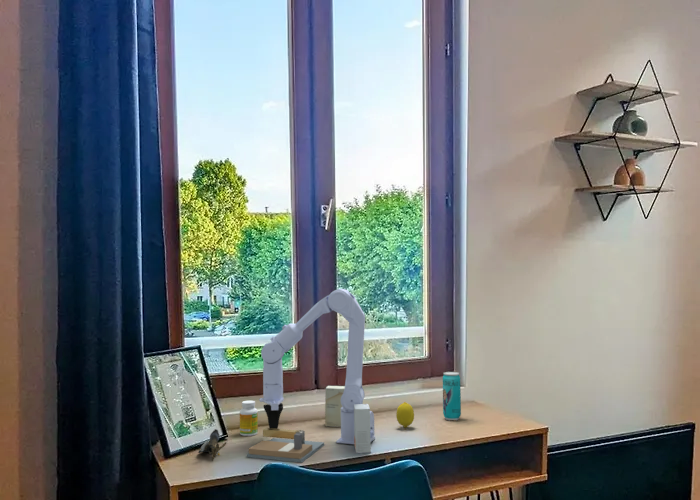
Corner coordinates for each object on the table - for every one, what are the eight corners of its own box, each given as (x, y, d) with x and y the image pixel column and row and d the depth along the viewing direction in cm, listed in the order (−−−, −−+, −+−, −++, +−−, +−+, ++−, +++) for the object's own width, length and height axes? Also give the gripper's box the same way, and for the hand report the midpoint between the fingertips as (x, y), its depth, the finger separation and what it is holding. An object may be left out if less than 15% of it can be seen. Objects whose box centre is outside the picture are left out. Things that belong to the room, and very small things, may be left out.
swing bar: (306, 443, 172) (306, 430, 172) (302, 446, 170) (302, 433, 170) (266, 440, 176) (266, 427, 176) (262, 442, 174) (262, 429, 174)
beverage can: (439, 418, 202) (438, 372, 203) (451, 416, 206) (451, 371, 206) (452, 422, 198) (451, 375, 198) (464, 419, 201) (463, 373, 201)
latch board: (324, 445, 174) (324, 423, 174) (301, 462, 159) (301, 439, 159) (273, 440, 179) (273, 419, 179) (246, 457, 164) (246, 434, 164)
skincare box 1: (324, 426, 194) (324, 388, 194) (327, 423, 198) (327, 385, 199) (344, 427, 193) (344, 388, 193) (346, 423, 197) (346, 385, 198)
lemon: (394, 429, 190) (393, 403, 190) (399, 424, 195) (399, 399, 195) (411, 430, 188) (411, 404, 188) (416, 426, 193) (416, 400, 193)
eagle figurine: (234, 453, 164) (224, 438, 172) (220, 434, 161) (211, 420, 169) (209, 471, 162) (201, 456, 170) (195, 452, 159) (187, 437, 167)
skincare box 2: (354, 446, 172) (353, 403, 172) (369, 446, 172) (368, 403, 173) (355, 453, 166) (354, 408, 166) (371, 453, 166) (370, 408, 167)
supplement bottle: (254, 436, 184) (253, 404, 184) (237, 435, 185) (236, 403, 185) (260, 431, 189) (259, 400, 189) (243, 431, 190) (243, 399, 190)
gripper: (258, 379, 187) (258, 424, 186) (260, 388, 172) (260, 437, 172) (281, 378, 188) (282, 422, 188) (285, 387, 174) (286, 435, 173)
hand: (273, 429), depth 180 cm, fingers closed
